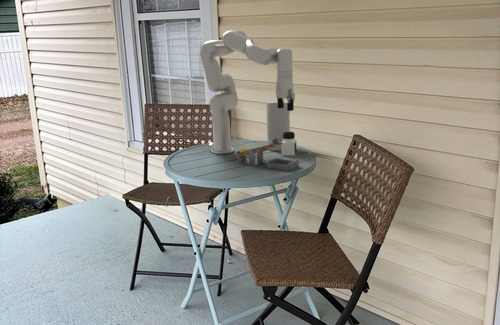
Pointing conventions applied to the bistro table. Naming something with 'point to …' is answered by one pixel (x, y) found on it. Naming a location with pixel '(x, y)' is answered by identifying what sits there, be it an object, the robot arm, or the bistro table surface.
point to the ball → (242, 150)
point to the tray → (282, 164)
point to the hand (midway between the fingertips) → (285, 109)
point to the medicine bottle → (288, 144)
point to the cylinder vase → (277, 123)
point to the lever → (260, 148)
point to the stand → (251, 159)
